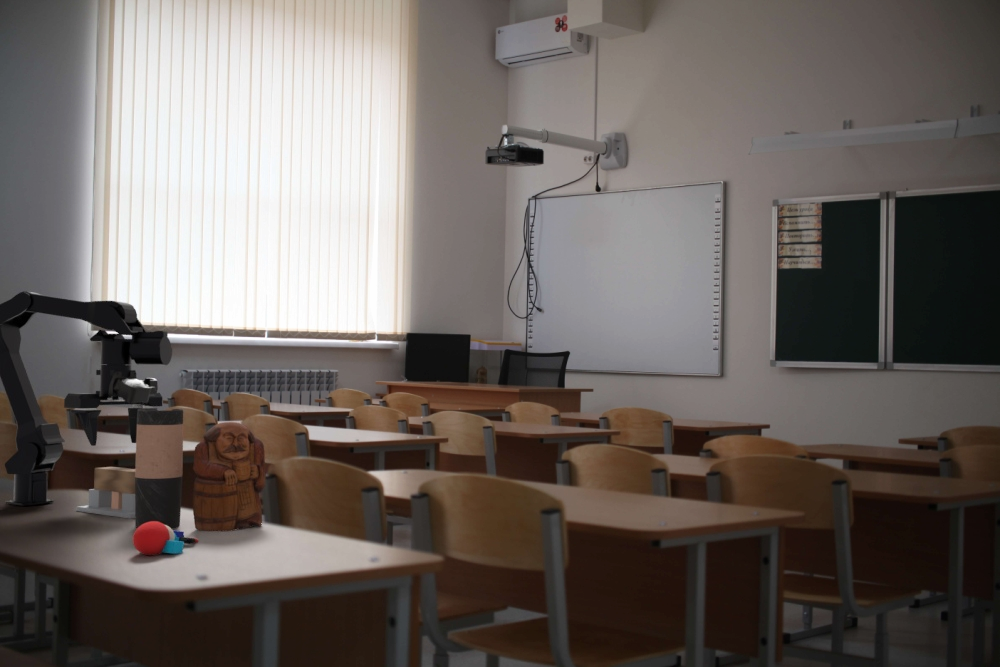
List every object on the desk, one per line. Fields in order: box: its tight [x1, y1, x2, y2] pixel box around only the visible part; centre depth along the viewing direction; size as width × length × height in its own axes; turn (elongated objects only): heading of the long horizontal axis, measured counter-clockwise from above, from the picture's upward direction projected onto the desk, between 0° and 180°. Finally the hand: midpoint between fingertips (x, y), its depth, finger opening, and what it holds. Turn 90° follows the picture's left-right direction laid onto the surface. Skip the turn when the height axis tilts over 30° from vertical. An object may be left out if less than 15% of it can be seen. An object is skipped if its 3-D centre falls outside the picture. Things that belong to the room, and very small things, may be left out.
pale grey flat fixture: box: [75, 488, 135, 519], centre depth 186 cm, size 16×9×4 cm, turn 57°
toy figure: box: [132, 521, 199, 556], centre depth 147 cm, size 8×5×15 cm
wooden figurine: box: [192, 421, 266, 532], centre depth 169 cm, size 12×6×18 cm, turn 135°
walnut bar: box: [93, 466, 135, 494], centre depth 185 cm, size 12×4×4 cm, turn 57°
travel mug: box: [134, 408, 184, 530], centre depth 168 cm, size 8×8×20 cm
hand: (114, 444), depth 194 cm, fingers open, 9 cm apart
